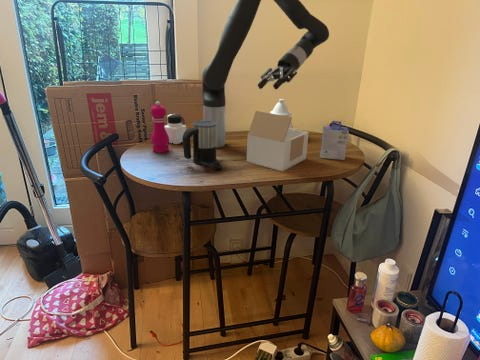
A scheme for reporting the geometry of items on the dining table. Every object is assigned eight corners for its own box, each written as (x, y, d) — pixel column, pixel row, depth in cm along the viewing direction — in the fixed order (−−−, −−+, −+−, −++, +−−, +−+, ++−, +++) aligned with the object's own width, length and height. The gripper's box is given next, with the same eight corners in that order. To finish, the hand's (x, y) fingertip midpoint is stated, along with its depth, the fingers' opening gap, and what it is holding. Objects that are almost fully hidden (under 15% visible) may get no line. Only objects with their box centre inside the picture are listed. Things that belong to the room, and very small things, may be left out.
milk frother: (202, 155, 141) (202, 118, 135) (236, 163, 134) (237, 124, 128) (179, 165, 130) (177, 126, 124) (214, 174, 122) (214, 133, 116)
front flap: (283, 142, 122) (283, 141, 122) (248, 134, 130) (248, 133, 130) (292, 117, 123) (291, 117, 122) (256, 111, 131) (255, 110, 130)
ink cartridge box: (344, 156, 144) (349, 121, 139) (345, 160, 139) (350, 124, 134) (319, 154, 146) (324, 119, 140) (319, 158, 141) (324, 122, 135)
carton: (283, 172, 126) (286, 142, 122) (245, 161, 135) (246, 133, 131) (307, 158, 140) (310, 132, 135) (271, 150, 149) (272, 124, 145)
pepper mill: (154, 153, 141) (150, 103, 133) (149, 148, 147) (146, 100, 139) (171, 151, 144) (169, 102, 136) (166, 146, 150) (164, 99, 142)
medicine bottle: (186, 141, 158) (186, 114, 153) (176, 144, 153) (174, 117, 148) (175, 138, 162) (173, 112, 157) (164, 141, 156) (162, 115, 151)
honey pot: (293, 141, 163) (297, 101, 155) (266, 140, 163) (268, 100, 156) (290, 133, 174) (293, 96, 167) (264, 132, 174) (266, 95, 167)
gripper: (275, 53, 139) (249, 78, 134) (302, 51, 128) (275, 78, 123) (282, 69, 143) (258, 94, 138) (309, 68, 132) (284, 96, 127)
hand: (266, 87), depth 130 cm, fingers open, 8 cm apart
